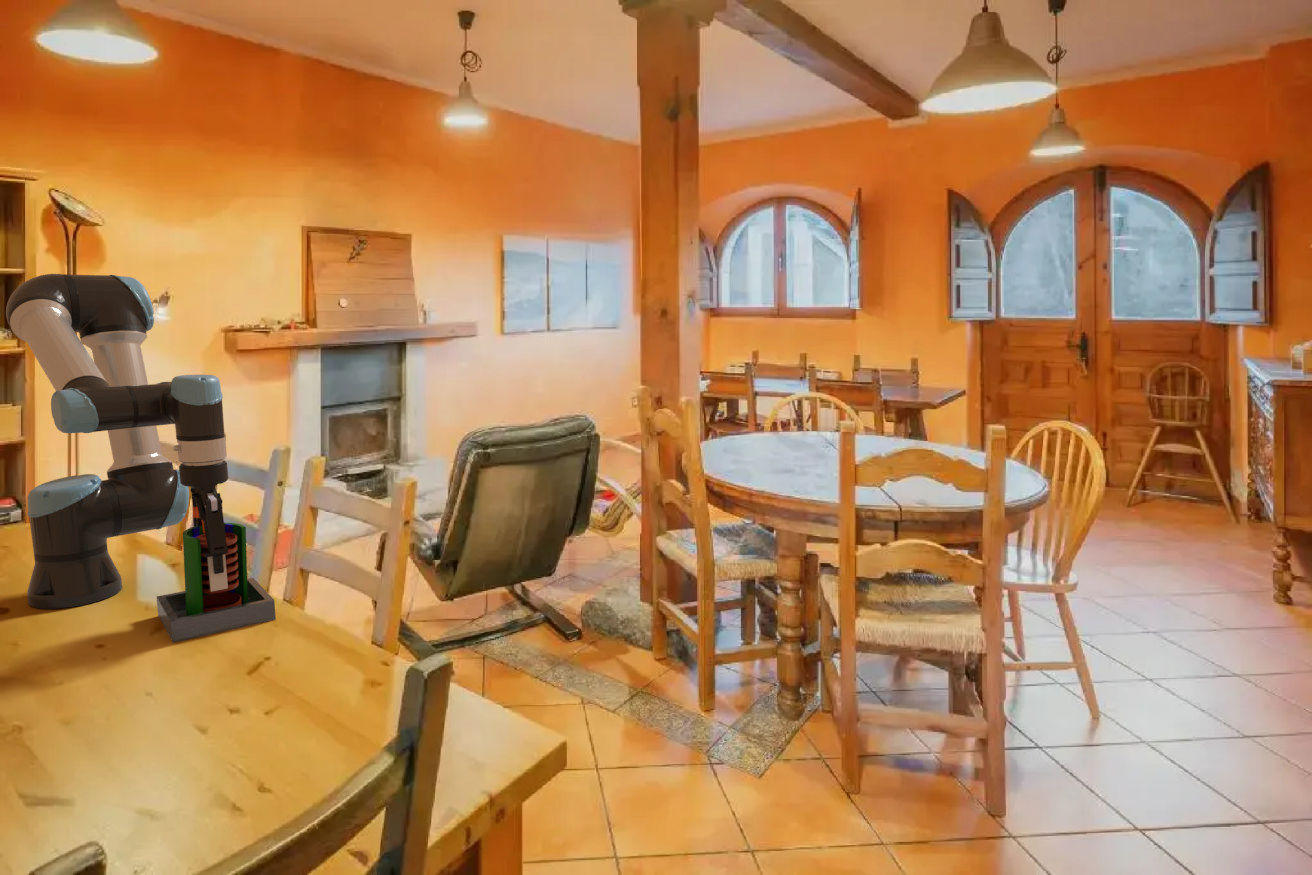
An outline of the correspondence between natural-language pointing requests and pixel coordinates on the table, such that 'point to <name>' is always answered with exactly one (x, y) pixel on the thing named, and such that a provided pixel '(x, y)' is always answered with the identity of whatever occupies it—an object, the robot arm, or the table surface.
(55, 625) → the table surface
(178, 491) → the robot arm
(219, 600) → the motor
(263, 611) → the tray
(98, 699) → the table surface
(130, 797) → the table surface
